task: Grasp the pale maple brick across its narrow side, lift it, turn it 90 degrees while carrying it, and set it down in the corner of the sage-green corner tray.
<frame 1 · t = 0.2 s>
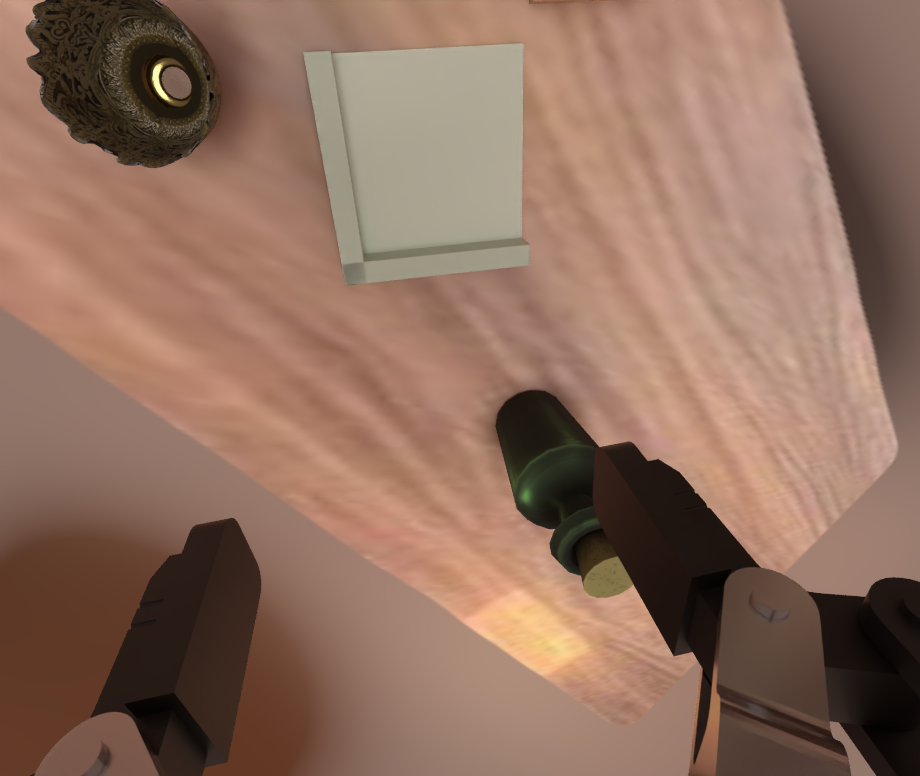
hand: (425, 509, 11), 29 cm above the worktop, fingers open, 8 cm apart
corner tray: (421, 172, 34), on the worktop
potion bottle: (528, 417, 46), on the worktop
cup: (178, 83, 29), on the worktop
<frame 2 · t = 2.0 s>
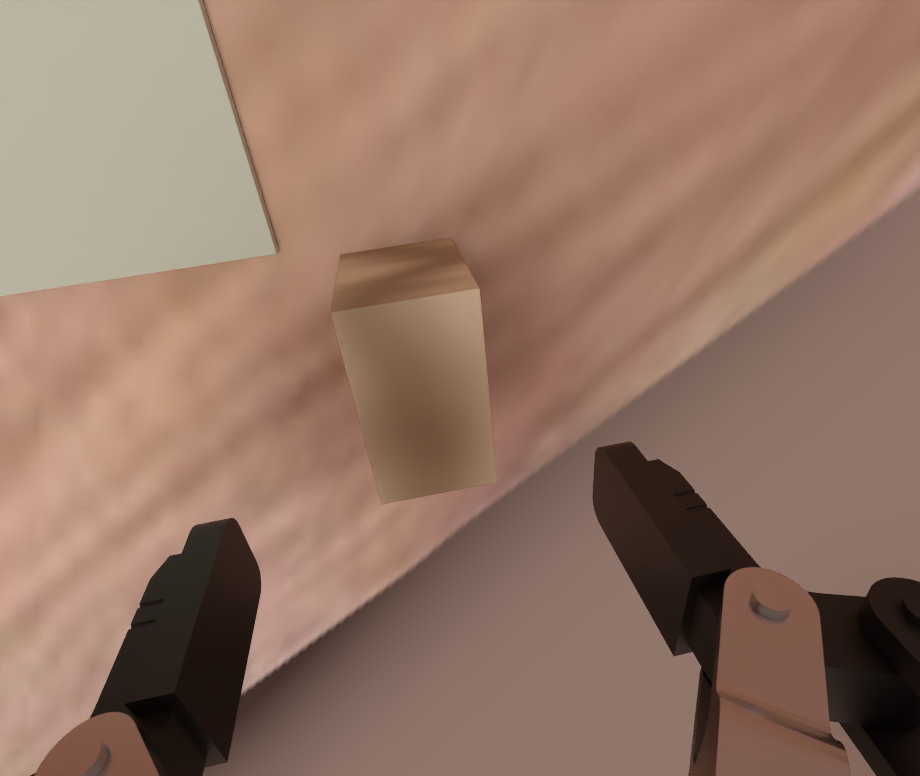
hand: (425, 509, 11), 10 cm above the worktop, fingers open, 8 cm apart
maple brick: (411, 333, 20), on the worktop
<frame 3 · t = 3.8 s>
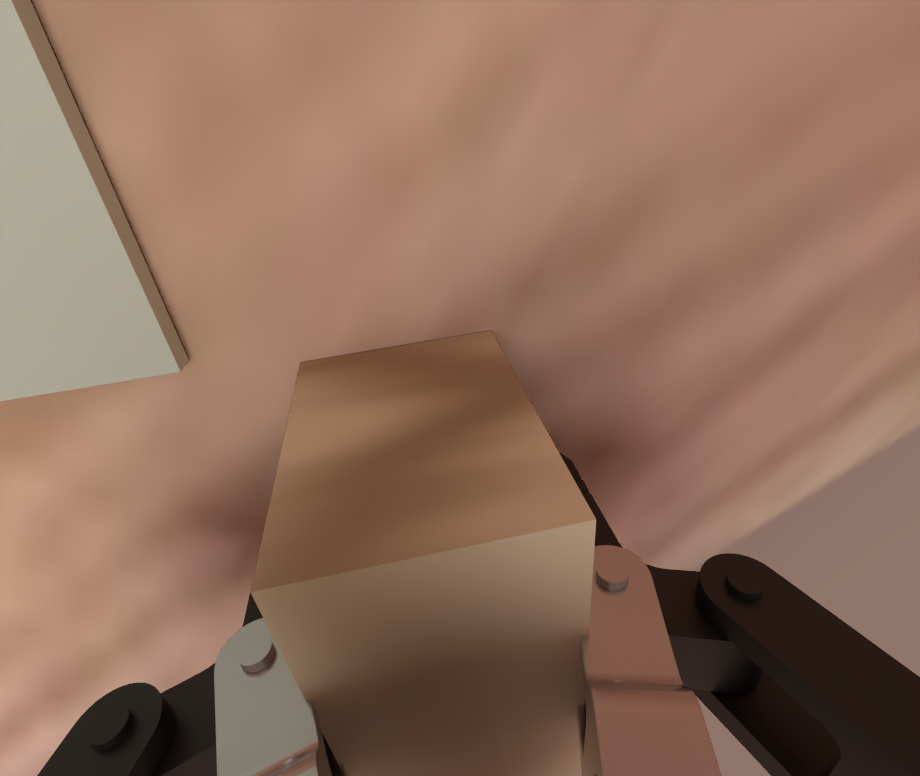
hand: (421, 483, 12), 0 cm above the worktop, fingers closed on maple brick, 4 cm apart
maple brick: (421, 473, 12), on the worktop, touching gripper
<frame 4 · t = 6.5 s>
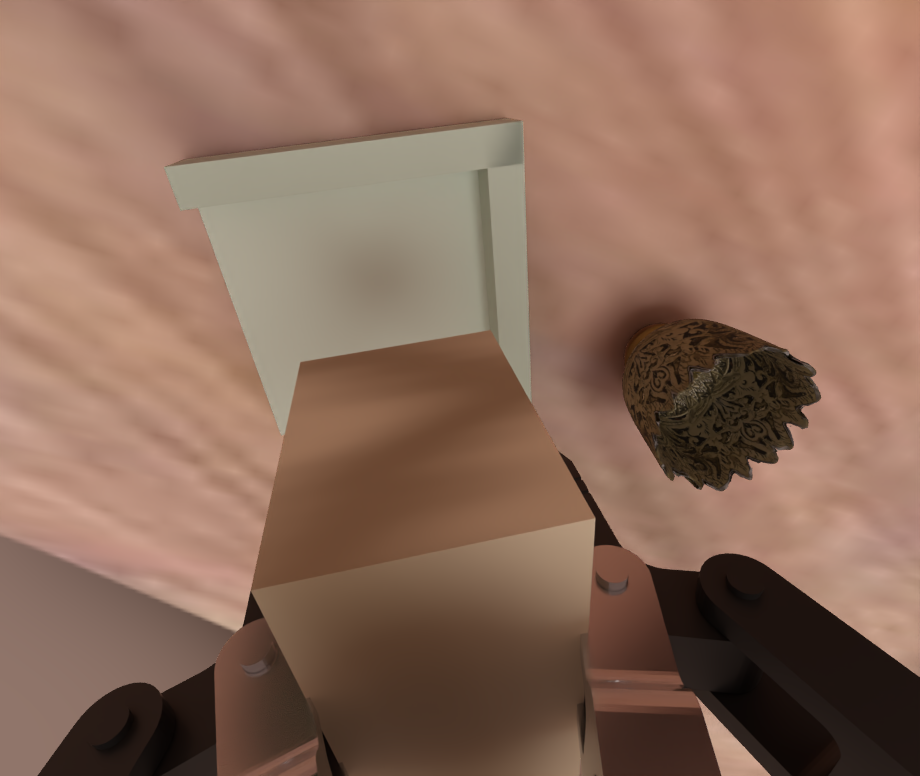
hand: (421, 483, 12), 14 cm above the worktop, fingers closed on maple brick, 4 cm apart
corner tray: (387, 286, 24), on the worktop
cup: (647, 346, 29), on the worktop
maple brick: (420, 472, 12), point 14 cm above the worktop, touching gripper
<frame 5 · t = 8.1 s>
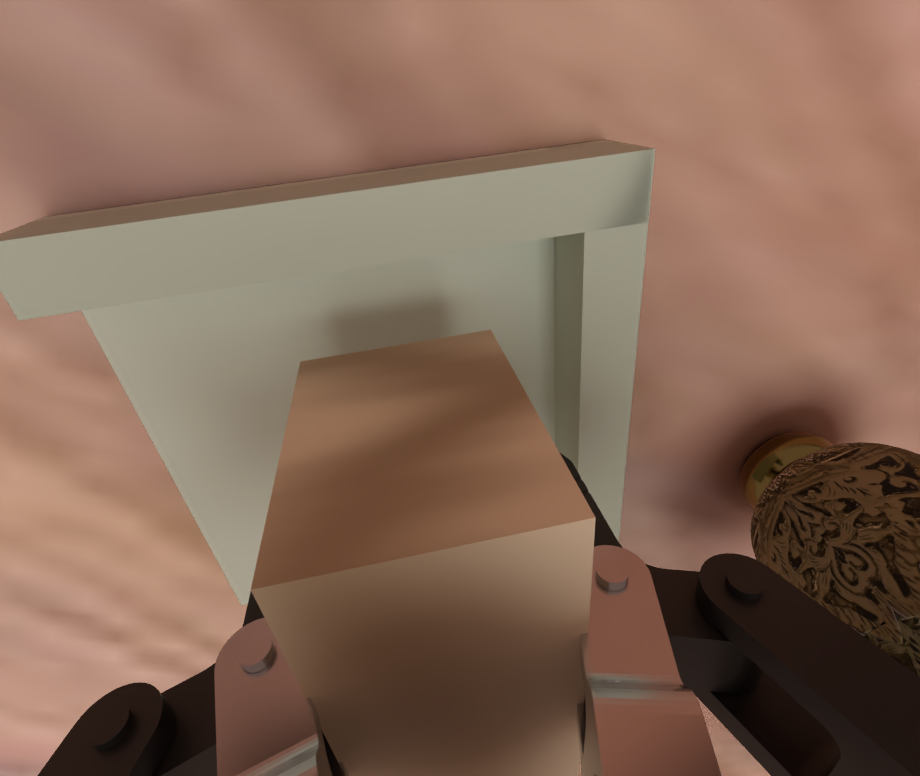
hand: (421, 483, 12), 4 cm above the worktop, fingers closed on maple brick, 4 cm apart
corner tray: (401, 400, 15), on the worktop
cup: (770, 458, 20), on the worktop
maple brick: (420, 472, 12), point 4 cm above the worktop, touching gripper
when the fingers open (3 cm above the worktop, at t = 9.2 s): maple brick drops 2 cm, resting on corner tray.
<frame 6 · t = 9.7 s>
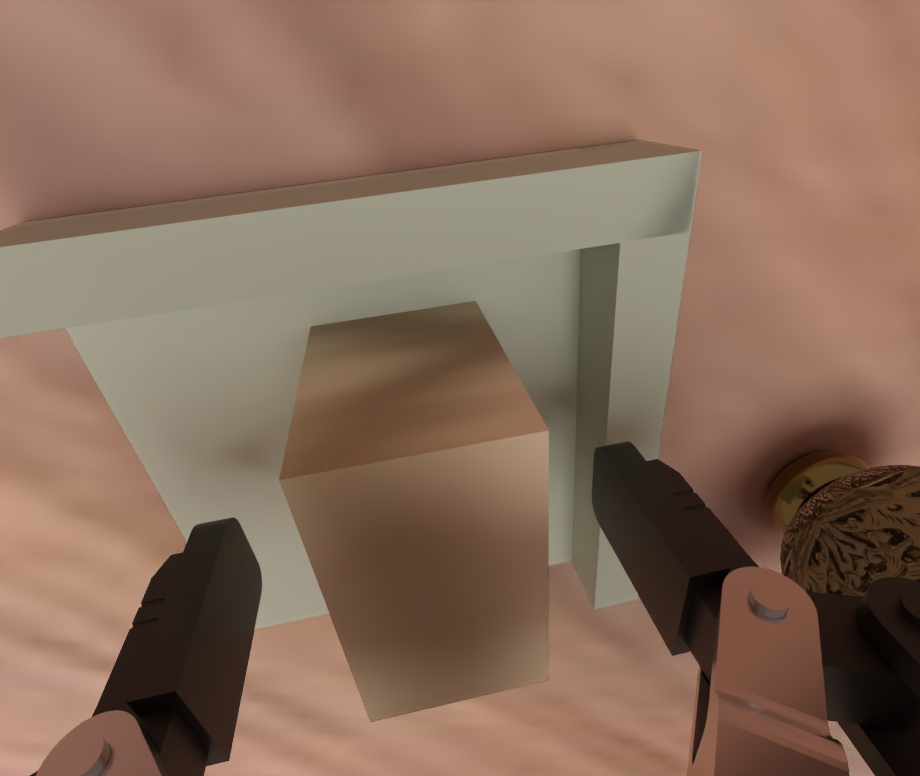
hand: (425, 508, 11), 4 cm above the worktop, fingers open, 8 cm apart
corner tray: (411, 419, 14), on the worktop
cup: (798, 477, 19), on the worktop
maple brick: (414, 430, 14), resting on corner tray
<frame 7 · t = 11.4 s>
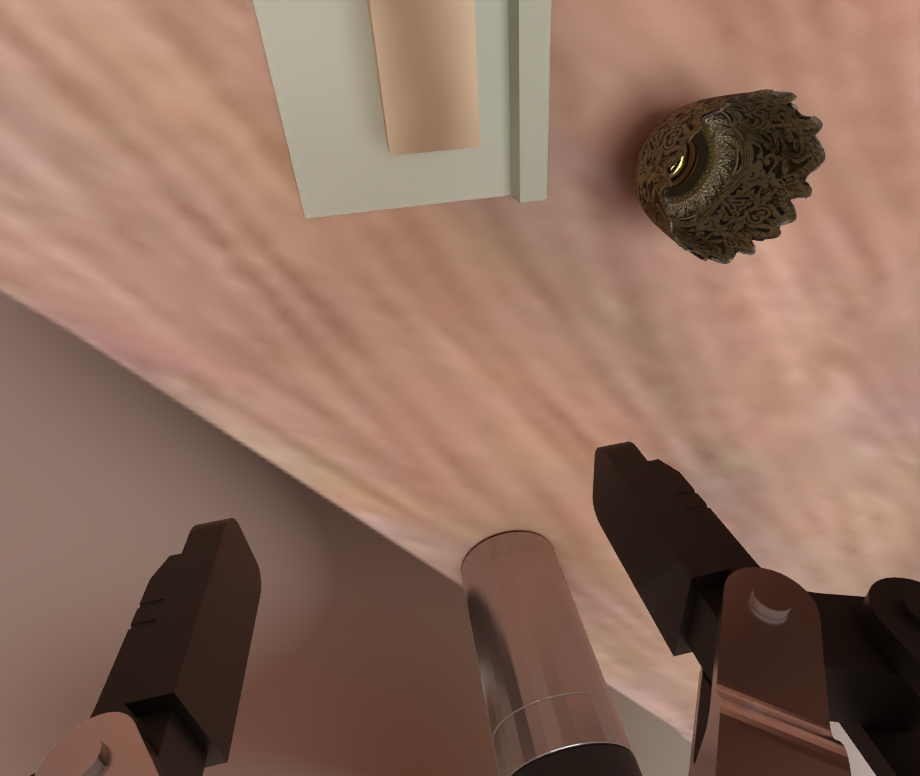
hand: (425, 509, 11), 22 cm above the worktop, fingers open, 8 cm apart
corner tray: (413, 57, 25), on the worktop
cup: (659, 157, 30), on the worktop
maple brick: (415, 57, 24), resting on corner tray
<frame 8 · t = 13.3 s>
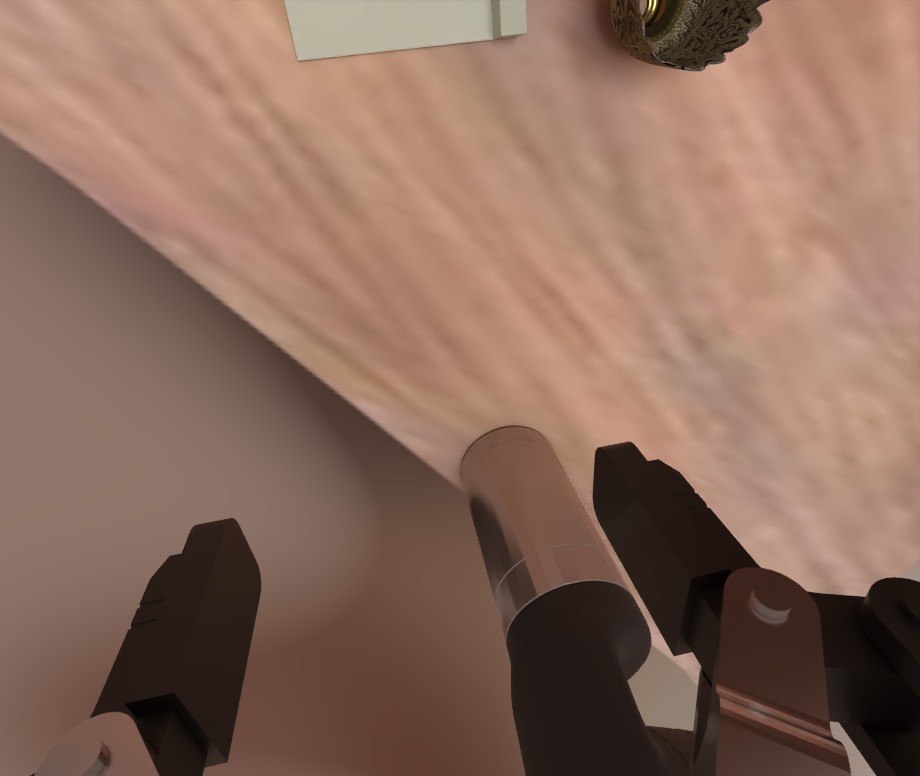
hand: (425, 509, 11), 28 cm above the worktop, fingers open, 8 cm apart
cup: (633, 5, 31), on the worktop
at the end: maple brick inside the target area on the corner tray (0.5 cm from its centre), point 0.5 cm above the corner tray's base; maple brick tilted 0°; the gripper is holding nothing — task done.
